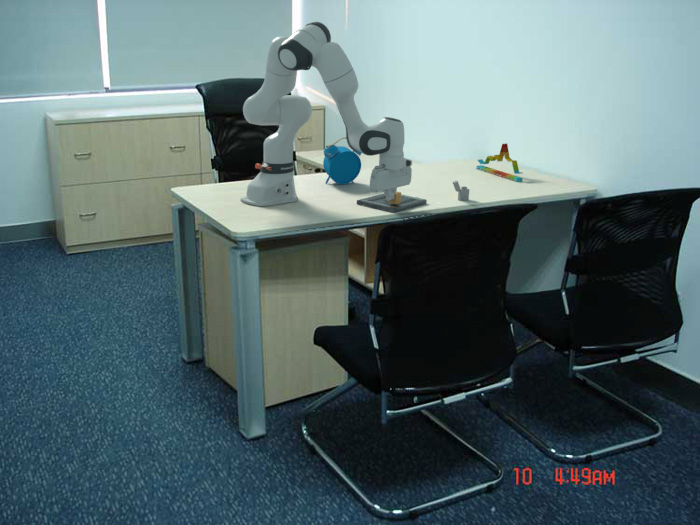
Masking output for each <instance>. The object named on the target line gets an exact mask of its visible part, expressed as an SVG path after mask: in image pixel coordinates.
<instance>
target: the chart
mask: <svg viewBox="0 0 700 525" xmlns="http://www.w3.org/2000/svg"><path fill="white" fill-rule="evenodd" d="M503 159H505V160H506V161H507V162H510V163H512V169H513V172H514V174H515V175H514V174H511V173H507V172H504V171H501V170H497V169H495V168H491V167H488V166H485V165H489V164H490V162H494V161H497V162H503ZM517 161H518V160H513V159H512V158H511V157H510V152H509V146H508V143H502V144H501V147H500V151H499V154H494V155H487V156H486V158H485V161H484V160H483V159H482V158H481V159H480V158H479V159H477V162H478V163H479V164H480V165H476V168H475V169H476V170H478V171H481V172H484V173H487V174H490V175H494V176H495V177H496V176H497V177H500V178H502V179H506V180H509V181H512V182H515V183H522V182H523V179H524V178H523V177H521V176H517V174H518V175H519V174H524V172H522V171H520V169H519V165H518V162H517Z"/></svg>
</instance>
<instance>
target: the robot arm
mask: <svg viewBox="0 0 700 525" xmlns="http://www.w3.org/2000/svg"><path fill="white" fill-rule="evenodd" d="M331 40H332V35H331V31H330V30H329V28H328V26H326V25H325V24H324V23H322V22H320V21H313V22H309V23H307V24H306V25H304V26H303V27H301V28H299V29H298V30H295V32H293V34H291V35H290V36H289V37H288V36H285V35H284V36H283V35H281V36H277V37H276V38H274V39H273V40H271V43H270V45H269V49H268V52H267V58H266V63H265V74H264V81H263V83H262V85H261V87H260V88H259V89H258V90H257V92H255V93H254V94H252V95H251V96H249V97H247V99H246V100H245V101H244V103H243V106H242V112H243V113H242V115H243V116H244V119H245V120H246V122H248V123H249V124H252V125H257V126H279V127H278V129H277V131H275V132H274V133H272V134H270V135H269V136H268V137H266V138H265V139H264V141H263V161H262V163H258V162H257V163H255V166H254V168H255V169H258V170H260V171H259V173H258V174H257V175H256V176H255V177H254V178H253V180H251V181H250V182H249V183H248V185H247V187H246V195H244V196H241V197H240V202H242V203H244V204H247V205H252V206H256V207H257V206H258V207H268V206H275V205H281V204H288V203H294V202H297V201H298V195H297V191H296V186H295V178H294V170H295V162H294V160H293V158H294V157H293V156H294V155H293V154H294V143H295V138H296V135H297V134H298V132H299V130H300V128H302V127H303V126H304V125H306V124H307V122H308V121H310V119H311V116H312V114H313V109H312V108H313V107H312V104H311V102H310V100H309V99H308V98H307V97H306V96H301V95H295V94H292V95H291V94H290V93H291V92H292V91H293V90H294V89H295V87H296V83H297V77H298V76H297V75H298V71H309V70H311V67H314V68H315V69H316V70H317V71H318V73H319V75H320V77H321V79H322V81H323V83H324V86H325V87H326V89H327V91H328V93H329V96H331V98H332V100H333V101H334V104H336V107H337V109H338V110H337V111H338V113H339V114H340V117H341V119H342V121H343V124H344V126H345V133H346V134H345V137H346V142H347V145H348V147H349V146H350V147H349V149H350V150H352V149H353V150H355V151H358V152H361V154H363V155H366V156H369V157H370V156H378V155H379V157H378V165H375V166H374V168H373V169H372V170H371V173H370V178H369V190H370V191H371V192H374V193H380V192H383V194H384V193H385V195H386V201H391V200H394V195H395V193H396V192H398V191H397V190H398V188H400V187H405V186H410V184H411V182H412V172H413V170H412V166H413V160H411V159H408V158H405V154H404V153H405V152H404V146H405V145H404V144H405V125H404V122H403V121H402V120H400V119H398V118H394V117H389V116H388V117H387V116H384V117H382V118H381V119H380V120H379V121H378V122H377V123H374V124H373V125H371V126H368V124H366V123H365V122H364V121H363V120H362V118H361V117H362V116H361V115H360V113H359V110H358V108H357V106H356V105H357V104H356V103H355V95H356V93H357V92H358V89H359V81H358V77H357V74H356V72H355V70H354V67H353V65H352V64H351V61H350V59H349V58H348V55H347V54H346V53H345V51H344V50H343V48H342V47H341V46H340V44H338V42H333V41H331ZM288 94H290V95H288ZM353 150H352V151H353Z"/></svg>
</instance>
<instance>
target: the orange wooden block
mask: <svg viewBox="0 0 700 525" xmlns="http://www.w3.org/2000/svg"><path fill="white" fill-rule="evenodd" d="M401 194H402V192H401V191H396V193H395V195H394V200H391V201H389V203H392V204H399V203H401Z"/></svg>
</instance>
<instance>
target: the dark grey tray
mask: <svg viewBox="0 0 700 525" xmlns="http://www.w3.org/2000/svg"><path fill="white" fill-rule="evenodd" d="M425 204H427V199H424V198H419V197H415V196H414V197H413V196H411V195H406V194H402V193H401V203H399V204H392V203H389V201H386V195H385V194H384V193H380V194H377V195H376V194H375V195H373V196H368V197H365V198H361V199H356V205H359V206H363V207H367V208H372V209H376V210H380V211H384V212H387V213H388V212H389V213H395V214H396V213H399V212H403V211H405V210H409V209H413V208H416V207H418V206H419V207H420V206H423V205H425Z"/></svg>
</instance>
